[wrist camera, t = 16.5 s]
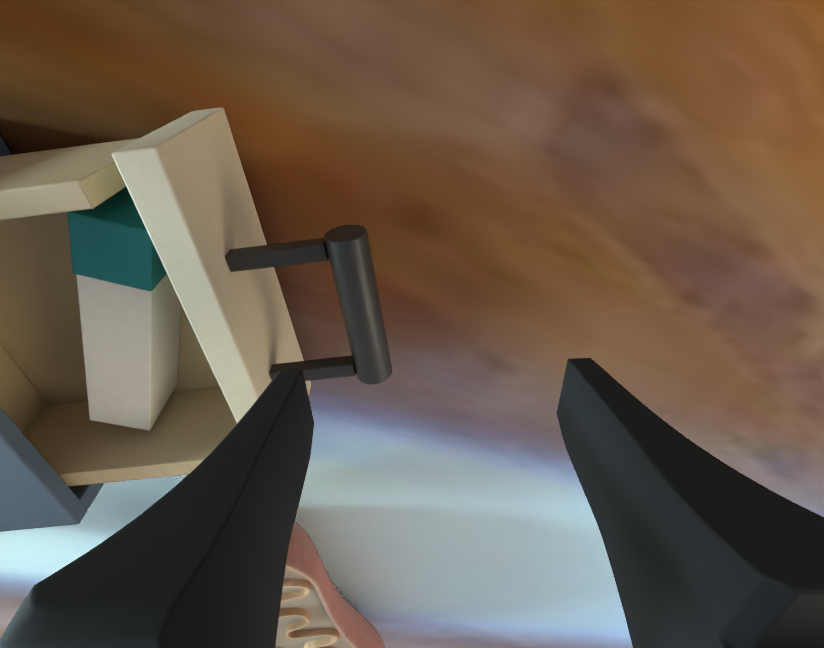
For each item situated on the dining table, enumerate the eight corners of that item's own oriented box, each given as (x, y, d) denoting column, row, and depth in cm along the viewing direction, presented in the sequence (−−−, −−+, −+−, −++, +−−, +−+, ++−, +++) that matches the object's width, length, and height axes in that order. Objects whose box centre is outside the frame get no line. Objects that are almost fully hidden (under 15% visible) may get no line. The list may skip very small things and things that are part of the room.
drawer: (354, 89, 16) (338, 122, 12) (402, 374, 24) (404, 466, 19) (-134, 154, 17) (-335, 210, 12) (60, 411, 25) (-19, 507, 20)
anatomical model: (404, 628, 41) (404, 697, 37) (299, 644, 43) (289, 713, 39) (301, 467, 29) (285, 545, 25) (158, 497, 30) (120, 576, 26)
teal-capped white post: (178, 384, 22) (150, 433, 20) (122, 373, 22) (86, 421, 19) (188, 199, 17) (152, 232, 15) (115, 179, 17) (65, 210, 14)
